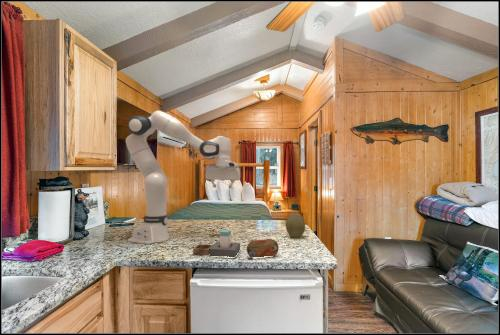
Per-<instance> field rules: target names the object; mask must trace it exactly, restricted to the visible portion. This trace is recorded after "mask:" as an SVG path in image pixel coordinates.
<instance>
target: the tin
mask: <svg viewBox="0 0 500 335" xmlns="http://www.w3.org/2000/svg"><path fill="white" fill-rule="evenodd" d="M278 252H279V244H278V242H277V241H276V240H275V239H272V238H261V239H260V238H259V239H252V240H251V241H250V242H248V244H247V245H246V253H247V255H248V257H250V258H251V257H264V256H274V257H275V256H277V254H278Z"/></svg>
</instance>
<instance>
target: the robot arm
mask: <svg viewBox="0 0 500 335" xmlns="http://www.w3.org/2000/svg"><path fill="white" fill-rule="evenodd" d="M126 125H127V126H126V127H127V129H128V131H129V132H130V133H131V134H129V135H128V136H127V137H126V138H125V143H126V144H125V145H126V148H127V151H128V152H129V154H130V157H131V158H132V160H133V162H134V164H135V166H136V167H137V169H138V170H139V172H140V173H141V174H142V176H143V177H144V191H145V193H144V194H145V201H146V204H145V205H146V207H145V208H146V209H145V211H146V215H144V216H143V217H141V219H142V220H143V222H142V223H140V224H139V225H138V226H136V227H135V228H134V229H133V231H132V236H131V237H129V238H128V240H127V242H130V243H135V244H136V243H137V244H147V245H149V244H155V243H161V242H162V243H163V242H166V241H168V240H169V239H170V236H169V232H168V231H169V230H168V213H167V209H168V208H167V203H168V202H167V201H168V200H167V192H166V191H167V190H166V187H167V185H168V178H167V175H166V174H165V172H164V170H163V169H162V167H161V166H160V164H159V162H158V160H157V158H156V157H155V155H154V153H153V151H152V150H151V148H150V146H149V144H148V142H147V140H149V139H150V138H151V137H152V136H153V135H154V134H155V133H156V132H157V131H159V132H161V133H162V134H164V135H165V136H167V137H169V138H172V139H175V140H178V141H180V142H183V143H186V144H188V145H189V146H191V147H192V148H194V149H196V150H198V151H199V153H200V154H201V156H202V157H204V158H205V160H214V159H215V163H208V164H206V166H205V175H204V176H205V177H204V178H205V179H206V180H210V181H211V185H212V188H215V189H216V188H217V184H215V180H217V181H218V180H220V181H222V180H223V181H230V184H228V189H232V188H233V185H234V183H235V181H240V179H241V170H240V168H239V163H236V162H234V161H232V158H231V154H232V142H231V141H232V140H231V139H230V137H228V136H227V135H226V136H225V135H218V136H216V137H214V138H212V139H208V140H205V141H203V140H202V139H200V138H199V137H197V136H196V135H195V134H193V133H192V132H191V131H190V130H189V129H188V128H187V127H186V126H185V125H184V124H183V123H182V122H181V121H180V120H179V119H178V118H176V117H174V116H173V115H171V114H170V113H167V112H164V111H162V110H156V111H154V112H152V113H151V115H150V116H147V115H135V116H132V117H130V118H129V119H128V120H127V124H126Z"/></svg>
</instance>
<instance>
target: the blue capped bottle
mask: <svg viewBox="0 0 500 335" xmlns="http://www.w3.org/2000/svg"><path fill="white" fill-rule="evenodd" d="M231 232H232V231H231V230H230V229H222V230H220V231H219V242H220V247H223V248H230V247H231V242H232V241H231V240H232V239H231V235H232V234H231Z"/></svg>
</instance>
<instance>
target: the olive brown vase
mask: <svg viewBox="0 0 500 335" xmlns="http://www.w3.org/2000/svg"><path fill="white" fill-rule="evenodd" d="M285 229H286V232H287V234H288V235H289V236H290V237H292V238H295V239H297V238H298V239H299V238H300V237H302V236H303V234H304V233H305V230H306V223H305V219H304V217H303V216H302V214H301V213H299V212H297V211H296V212H291V213H290V214H289V215H288V216H287V218H286V221H285Z"/></svg>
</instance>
